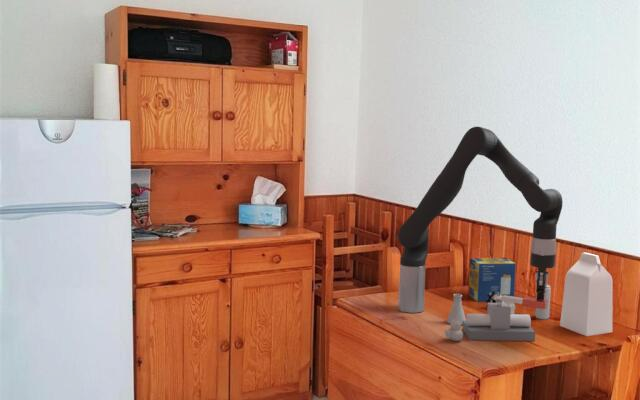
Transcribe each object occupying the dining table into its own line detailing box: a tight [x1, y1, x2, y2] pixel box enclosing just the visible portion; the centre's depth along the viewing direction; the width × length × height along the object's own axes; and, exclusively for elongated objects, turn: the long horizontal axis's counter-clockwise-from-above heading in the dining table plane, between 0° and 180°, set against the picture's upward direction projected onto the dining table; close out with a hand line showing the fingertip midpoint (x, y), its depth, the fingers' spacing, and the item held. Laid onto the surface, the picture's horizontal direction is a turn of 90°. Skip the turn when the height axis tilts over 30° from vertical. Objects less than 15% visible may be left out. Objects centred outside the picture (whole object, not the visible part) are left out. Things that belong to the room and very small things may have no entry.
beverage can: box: [534, 284, 552, 321], centre depth 234 cm, size 5×5×12 cm
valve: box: [484, 292, 516, 314], centre depth 240 cm, size 7×7×12 cm
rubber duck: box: [444, 317, 464, 342], centre depth 209 cm, size 5×7×8 cm
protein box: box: [468, 257, 517, 303], centre depth 260 cm, size 10×15×16 cm
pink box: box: [494, 294, 548, 309], centre depth 210 cm, size 16×3×2 cm, turn 57°
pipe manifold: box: [462, 301, 536, 342], centre depth 215 cm, size 21×11×11 cm, turn 89°
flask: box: [446, 293, 467, 326], centre depth 228 cm, size 7×7×10 cm
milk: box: [559, 252, 614, 337], centre depth 221 cm, size 12×12×26 cm
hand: (540, 304), depth 210 cm, fingers closed
